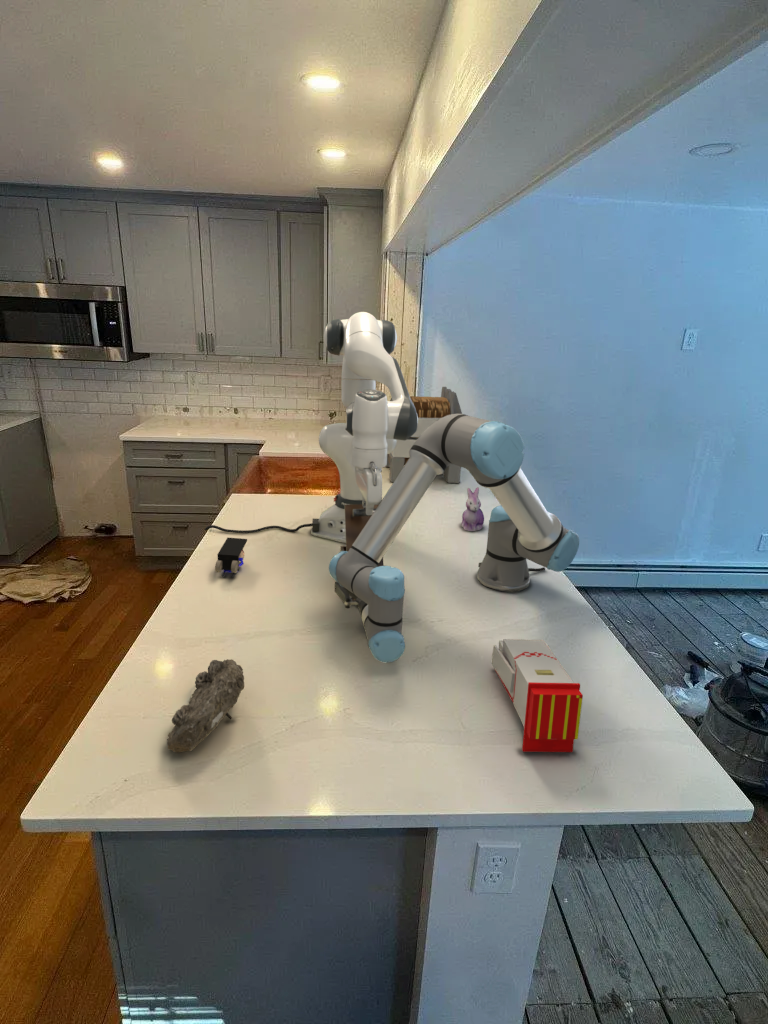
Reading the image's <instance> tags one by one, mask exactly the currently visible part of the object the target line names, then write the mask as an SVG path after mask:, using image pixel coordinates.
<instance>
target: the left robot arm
mask: <svg viewBox="0 0 768 1024" xmlns="http://www.w3.org/2000/svg"><path fill="white" fill-rule="evenodd" d="M323 343H324V346H325V348H326V351H327V352H328V353H329V354H330V355H333V356H337V357H340V356H342V357H343V358H342V363H341V378H340V379H341V381H340V382H341V385H340V386H341V393H340V394H341V403H342V405H343V406H344V408H345V414H346V419H345V422H335V423H330V424H326V425H323V427H322V428H321V430H320V432H319V435H318V445H319V447H320V449H321V451H322V452H323V453H324V454H325V455H326V456H328V457H329V458H330V459H331V460H332V462H334V464H335V466H336V467H337V470H338V474H339V483H340V484H339V485H340V488H339V489H340V490H339V491H338V492H337V494H336V495H335V496H334V497H333V502H334V504H333V505H331V506H329V507H328V508H326V509H325V510H323V512H321V514H320V515H319V517H318V518H312V522H311V523H303V524H301V525H299V526H297V527H295V528H293V529H292V528H287V527H284V526H281V525H268V526H263V527H260V528H255V529H248V530H247V529H245V530H239V529H237V530H236V529H228V528H223V527H221V526H218V525H214V524H211V525H208V526H206V527H205V528H204V531H209V529H215V530H218V531H221V532H225V533H235V534H251V533H252V534H253V533H258V532H262V531H265V530H271V529H277V530H278V529H279V530H282V531H285V532H289V533H296V532H298V531H300V530H301V529H302V528H308V527H311V530H310V533H311V536H315V537H319V538H323V539H326V540H330V541H336V542H339V543H343V544H346V530H345V505H355V504H362V506H363V508H364V509H365V512H366V515H372V514H373V508H374V505H379V504H380V502H381V501H382V499H383V475H382V469H383V468H385V467H387V466H386V465H387V454H390V453H391V452H392V451H393V450H394V448H395V446H396V443H397V440H404V441H405V440H407V439H408V438H410V437H411V436H412V435H413V434H414V433H415V432H416V431H417V426H418V416H417V412H416V408H415V406H414V404H413V402H412V401H411V398H410V396H411V395H410V393H409V390H408V386H407V383H406V381H405V378H404V375H403V372H402V369H401V366H400V364H399V362H398V360H397V359H396V358H395V357H394V356H392V355H391V354H392V353H394V351H395V348H396V345H397V343H398V334H397V330H396V327H395V325H394V323H393V321H389V320H386V319H381V320H380V319H377V318H376V317H375V316H374V315H373V314H372V313H369V312H367V311H359V312H356V313H353V314H352V315H351V316H350V317H349V318H345V319H340V318H336V319H332V320H329V322H327V324H326V326H325V329H324V331H323ZM376 382H378V383H380V384H382V385H384V386H386V387H387V389H388V391H389V392H390V397H391V398H392V400H393V401H390V400H388V396H387V393H385V392H383V391H381V390H377V389H376V388H377V387H376V386H377V385H376V384H377V383H376Z"/></svg>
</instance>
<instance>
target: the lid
mask: <svg viewBox="0 0 768 1024" xmlns="http://www.w3.org/2000/svg"><path fill="white" fill-rule="evenodd" d="M377 507H378V505H374V508H373V513H374V511H375V510H376V508H377ZM371 516H372V515H366V512H365V509H364V508H363V506H362V504H355V505H345V530H346V543H345V546H346V551H349V549H350V548H351V547H352V545H353V543H354V542H355V540H356V539H357V537H358V536H359V534H360V533H361V531H362V530H363V528H364V527H365V525H366V524H367V522H368V521H369V519H370V518H371ZM379 566H385V563H384V556H383V557H382V559H381V561H380V562H379V564H378V565H377V567H379Z"/></svg>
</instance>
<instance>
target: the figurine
mask: <svg viewBox="0 0 768 1024" xmlns="http://www.w3.org/2000/svg"><path fill="white" fill-rule="evenodd" d="M466 491H467V493H466V494H467V499H466V501H465V507H466V509H465V510H464V511H463V513H462V516H461V517H462V518H461V519H462V520H461V527H462V528H463V530H464V531H469V532H475V531H480V530H481V529H482V528H484V523H485V515H484V512H483V510H482V509H481V507H482V502H481V499H480V497H479V494H480V488H479V487H478V486H477V487H476V488H475V489H474V490H473V491H472V490H471V488H469V487H468V488H467V489H466Z"/></svg>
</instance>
